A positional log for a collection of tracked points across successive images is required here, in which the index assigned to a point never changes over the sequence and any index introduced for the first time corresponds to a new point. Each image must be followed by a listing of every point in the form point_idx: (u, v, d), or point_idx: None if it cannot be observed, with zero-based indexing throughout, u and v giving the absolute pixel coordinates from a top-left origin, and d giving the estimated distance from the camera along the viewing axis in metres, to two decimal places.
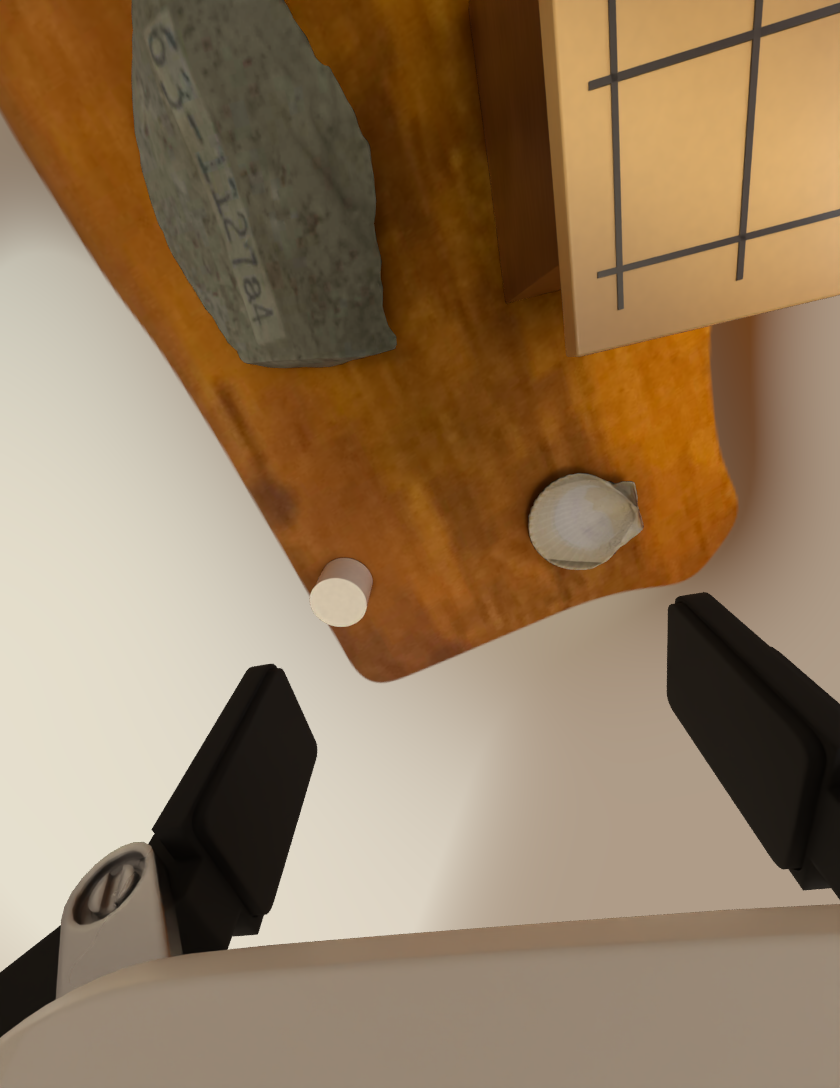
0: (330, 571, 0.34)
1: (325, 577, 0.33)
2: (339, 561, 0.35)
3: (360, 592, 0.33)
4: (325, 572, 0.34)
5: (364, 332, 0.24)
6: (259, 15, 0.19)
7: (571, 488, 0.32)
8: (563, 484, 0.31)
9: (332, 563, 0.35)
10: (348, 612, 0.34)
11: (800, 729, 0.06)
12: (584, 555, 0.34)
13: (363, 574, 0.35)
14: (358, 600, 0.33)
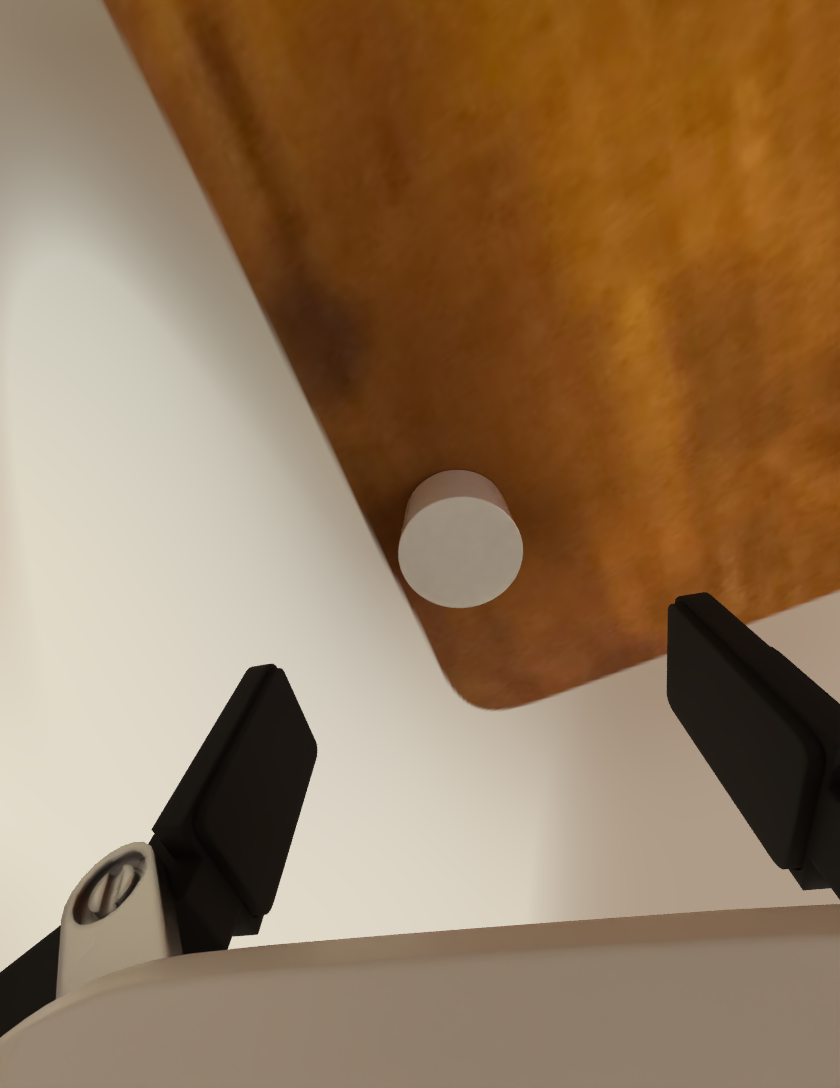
0: (442, 488, 0.16)
1: (436, 497, 0.15)
2: (450, 474, 0.17)
3: (512, 532, 0.15)
4: (428, 492, 0.16)
5: None
6: None
7: None
8: None
9: (436, 478, 0.17)
10: (481, 575, 0.16)
11: (800, 729, 0.06)
12: None
13: (502, 498, 0.17)
14: (506, 549, 0.15)
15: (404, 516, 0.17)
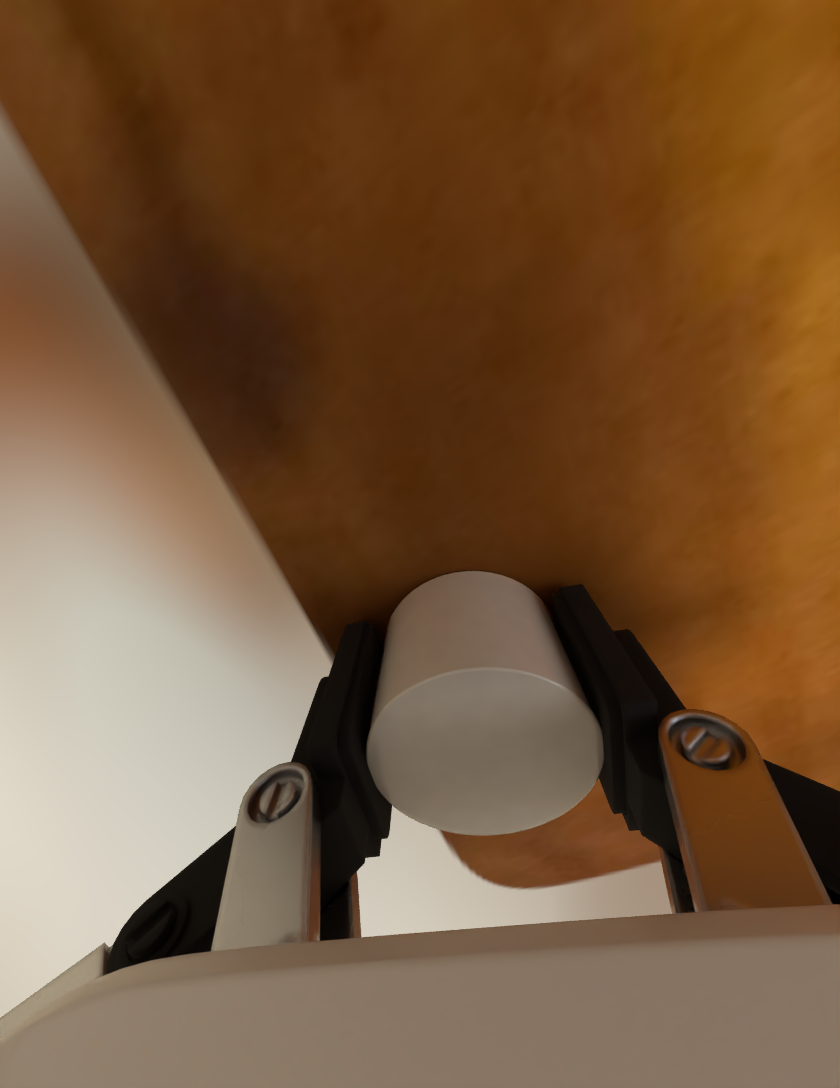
0: (449, 627, 0.08)
1: (437, 657, 0.08)
2: (462, 584, 0.10)
3: (587, 727, 0.08)
4: (424, 630, 0.09)
5: None
6: None
7: None
8: None
9: (438, 591, 0.10)
10: (522, 791, 0.08)
11: (607, 692, 0.07)
12: None
13: (555, 630, 0.10)
14: (572, 754, 0.08)
15: (382, 656, 0.10)
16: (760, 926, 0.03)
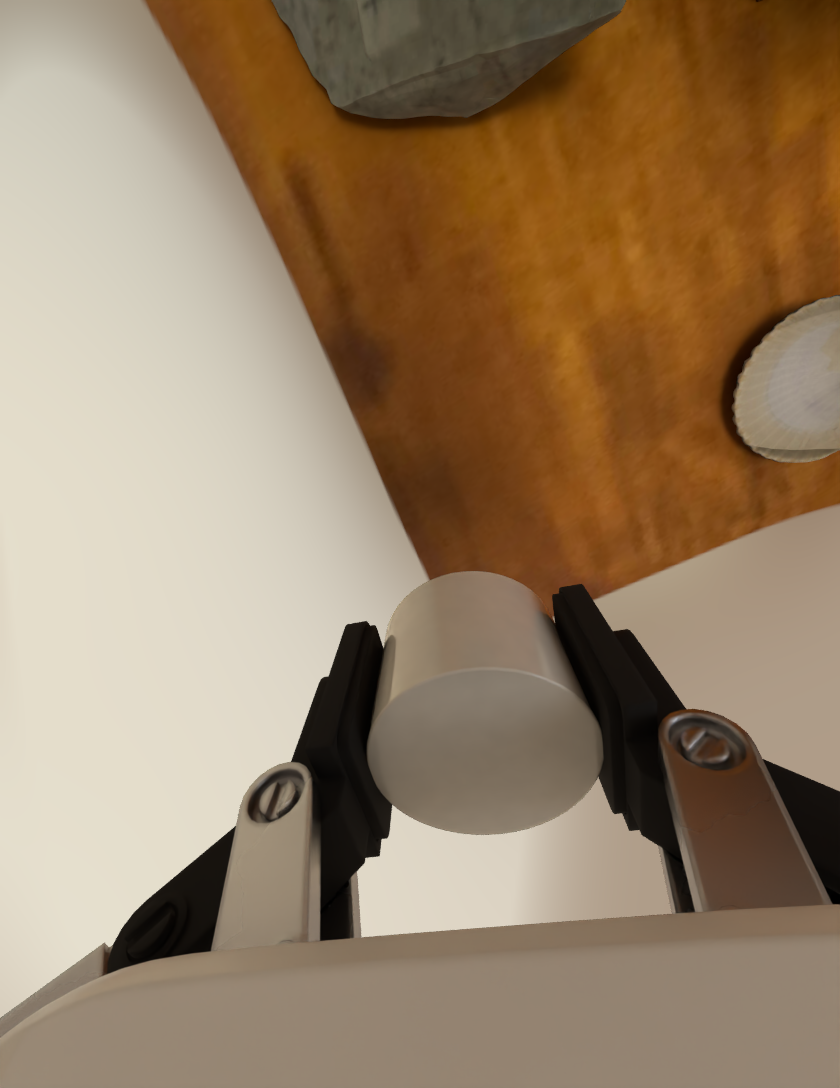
0: (449, 627, 0.08)
1: (438, 657, 0.08)
2: (463, 584, 0.10)
3: (587, 727, 0.08)
4: (424, 630, 0.09)
5: None
6: None
7: (811, 328, 0.21)
8: (804, 318, 0.21)
9: (438, 590, 0.10)
10: (522, 791, 0.08)
11: (607, 692, 0.07)
12: (808, 440, 0.23)
13: (555, 630, 0.10)
14: (572, 753, 0.08)
15: (382, 656, 0.10)
16: (760, 926, 0.03)
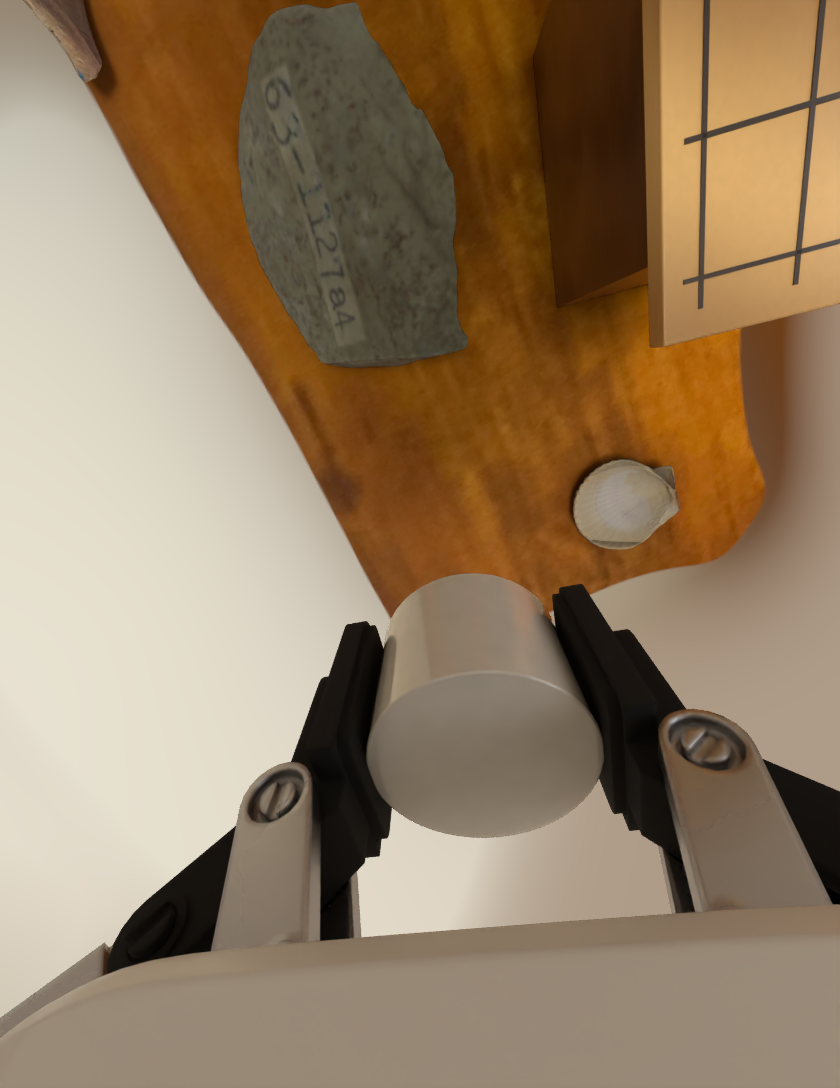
0: (448, 629, 0.08)
1: (437, 660, 0.08)
2: (462, 586, 0.10)
3: (586, 729, 0.08)
4: (423, 633, 0.09)
5: (439, 334, 0.28)
6: (364, 68, 0.23)
7: (613, 473, 0.35)
8: (606, 469, 0.34)
9: (437, 593, 0.10)
10: (522, 794, 0.08)
11: (607, 692, 0.07)
12: (624, 535, 0.37)
13: (555, 633, 0.10)
14: (572, 756, 0.08)
15: (382, 659, 0.10)
16: (760, 926, 0.03)
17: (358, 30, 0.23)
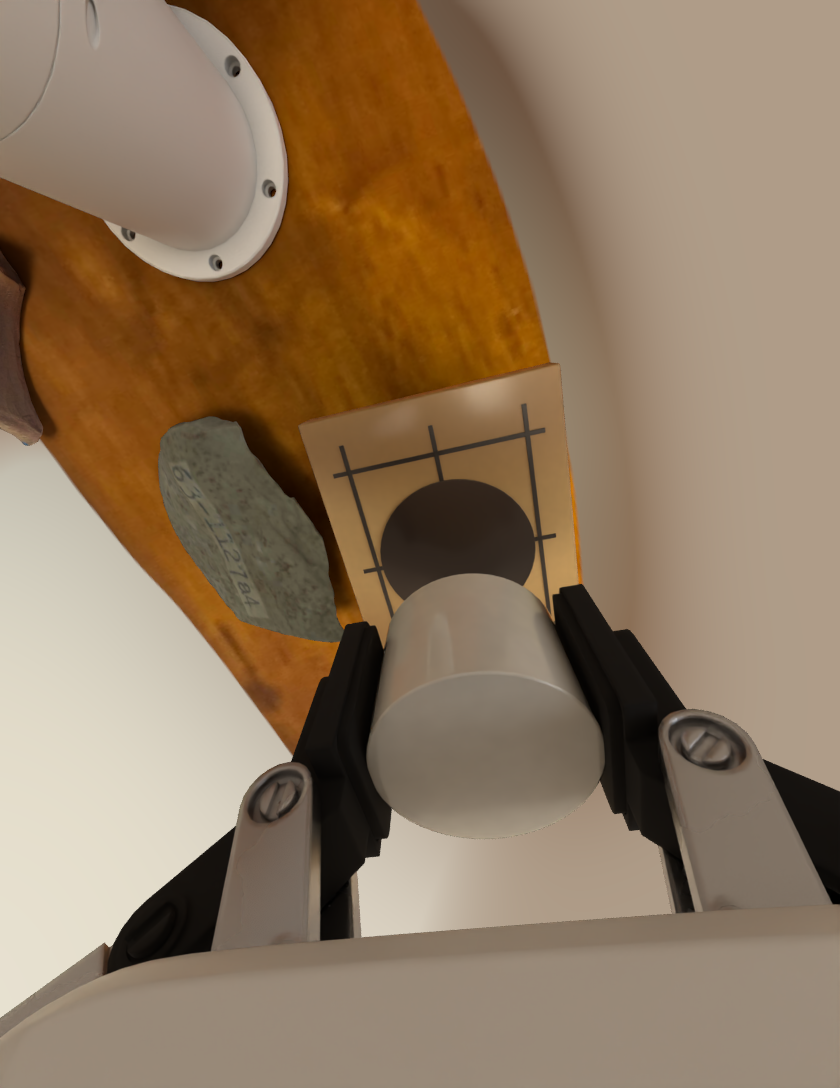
0: (449, 630, 0.08)
1: (438, 661, 0.08)
2: (463, 586, 0.10)
3: (588, 731, 0.08)
4: (424, 633, 0.09)
5: (324, 628, 0.34)
6: (247, 470, 0.29)
7: None
8: None
9: (438, 593, 0.10)
10: (522, 795, 0.08)
11: (607, 692, 0.07)
12: None
13: (556, 633, 0.09)
14: (573, 758, 0.08)
15: (382, 659, 0.10)
16: (760, 926, 0.03)
17: (240, 446, 0.29)
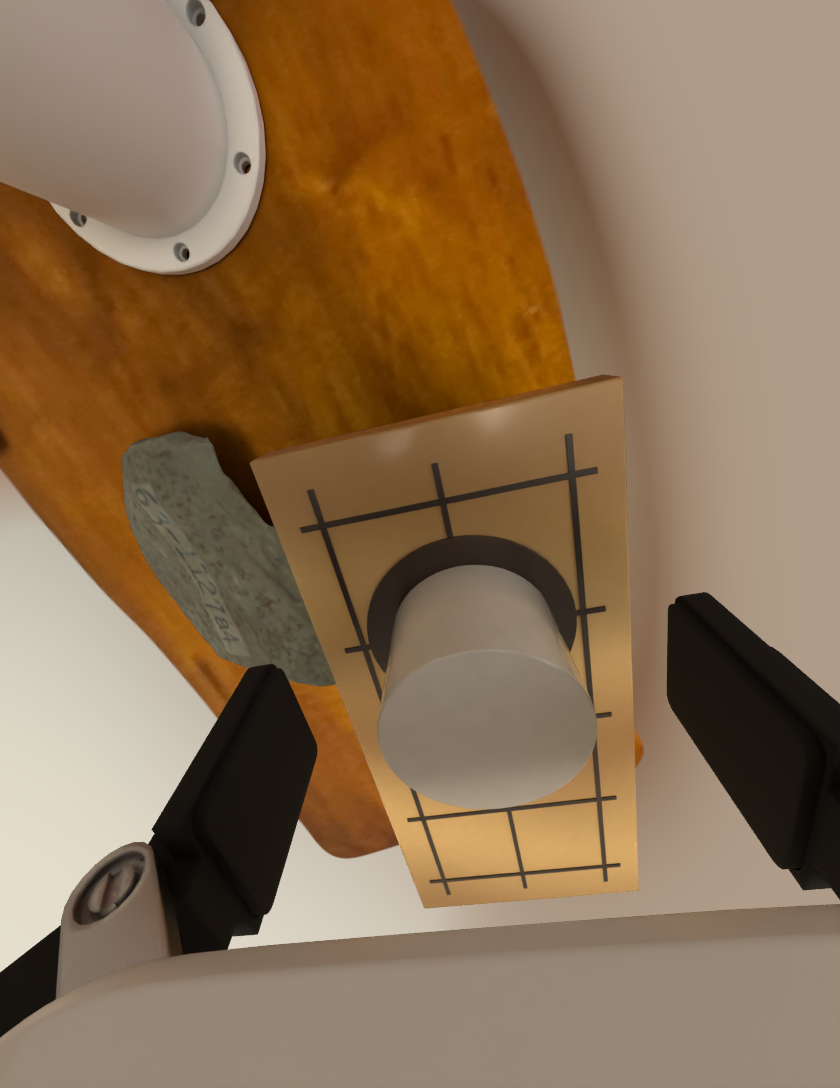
0: (453, 615, 0.09)
1: (443, 641, 0.08)
2: (466, 576, 0.11)
3: (580, 705, 0.08)
4: (430, 618, 0.09)
5: (311, 671, 0.30)
6: (219, 494, 0.25)
7: None
8: None
9: (442, 583, 0.11)
10: (521, 766, 0.09)
11: (800, 729, 0.06)
12: None
13: (552, 620, 0.10)
14: (567, 731, 0.09)
15: (391, 644, 0.11)
16: (759, 926, 0.03)
17: (211, 466, 0.25)
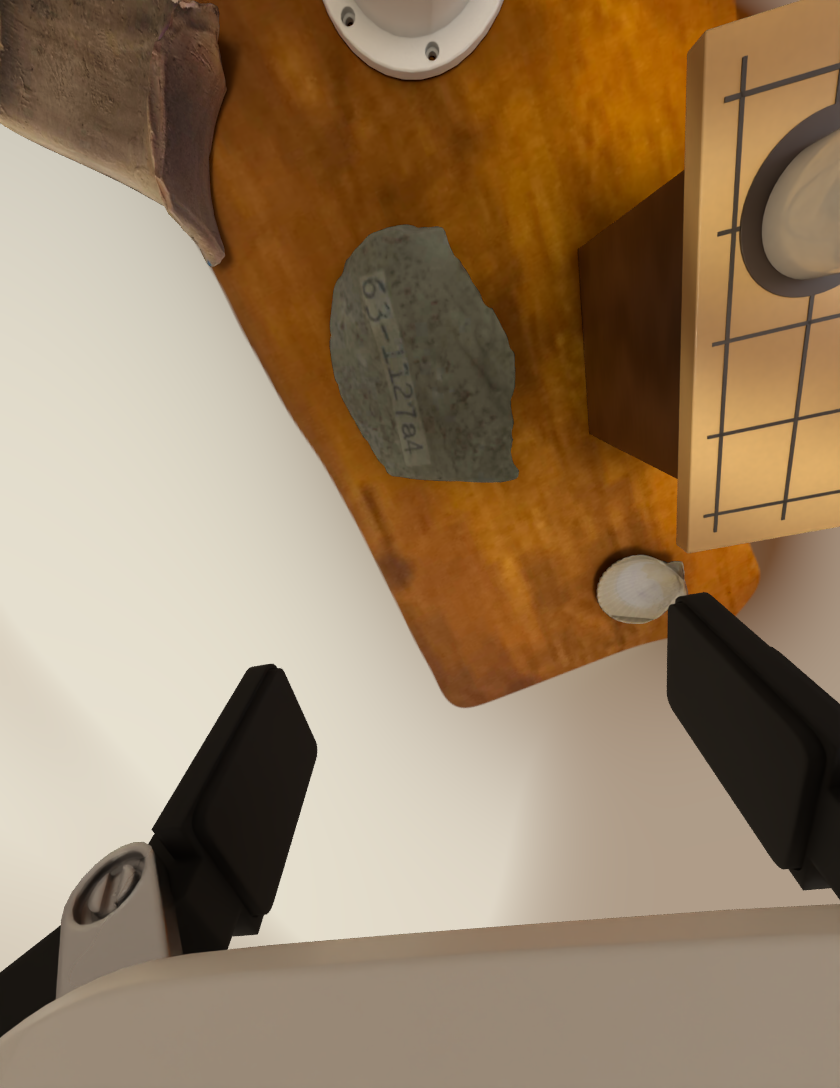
0: None
1: None
2: None
3: None
4: None
5: (495, 467, 0.34)
6: (447, 277, 0.29)
7: (632, 564, 0.41)
8: (626, 561, 0.40)
9: None
10: None
11: (800, 728, 0.06)
12: (639, 612, 0.43)
13: None
14: None
15: (802, 172, 0.14)
16: (760, 926, 0.03)
17: (443, 249, 0.28)
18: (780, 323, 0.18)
